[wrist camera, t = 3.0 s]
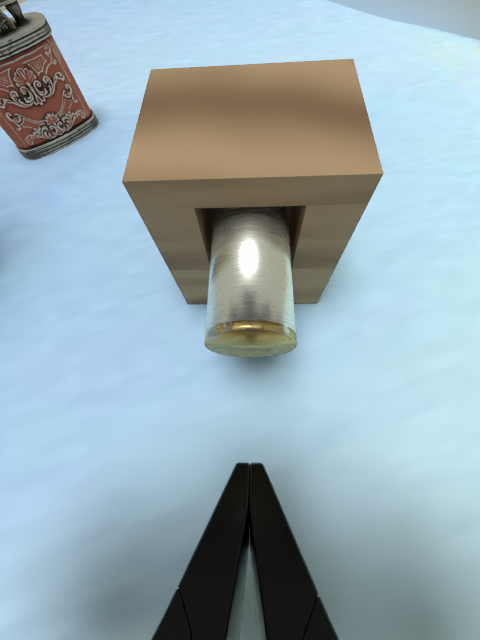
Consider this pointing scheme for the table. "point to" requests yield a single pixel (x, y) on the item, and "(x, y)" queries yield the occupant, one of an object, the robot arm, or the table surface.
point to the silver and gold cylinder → (250, 283)
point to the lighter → (38, 87)
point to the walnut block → (253, 162)
